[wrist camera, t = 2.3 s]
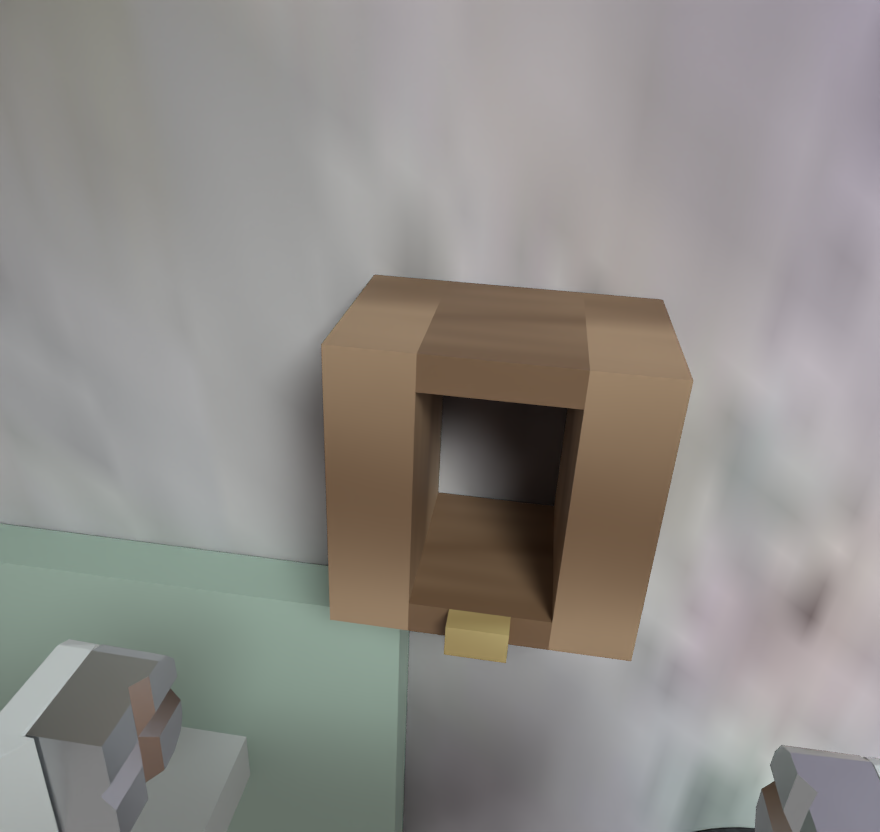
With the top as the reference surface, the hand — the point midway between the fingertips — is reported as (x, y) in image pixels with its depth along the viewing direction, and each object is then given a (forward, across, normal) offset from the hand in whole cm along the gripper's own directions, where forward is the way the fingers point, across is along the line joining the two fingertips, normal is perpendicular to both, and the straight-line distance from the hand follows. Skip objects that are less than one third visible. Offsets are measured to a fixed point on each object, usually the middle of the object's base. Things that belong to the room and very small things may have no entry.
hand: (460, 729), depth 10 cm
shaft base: (+8, +8, +10) cm, 15 cm away
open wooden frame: (+8, 0, -1) cm, 8 cm away
